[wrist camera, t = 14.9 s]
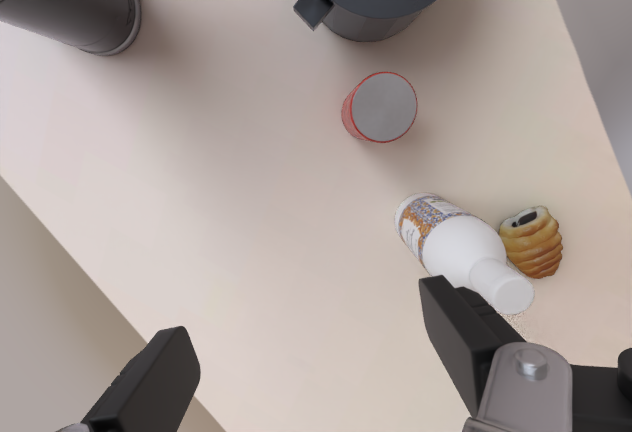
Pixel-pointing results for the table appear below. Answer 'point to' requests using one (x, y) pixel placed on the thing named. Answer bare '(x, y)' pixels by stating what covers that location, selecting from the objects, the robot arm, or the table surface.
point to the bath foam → (462, 251)
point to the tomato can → (380, 108)
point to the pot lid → (382, 8)
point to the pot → (348, 21)
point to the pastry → (533, 242)
